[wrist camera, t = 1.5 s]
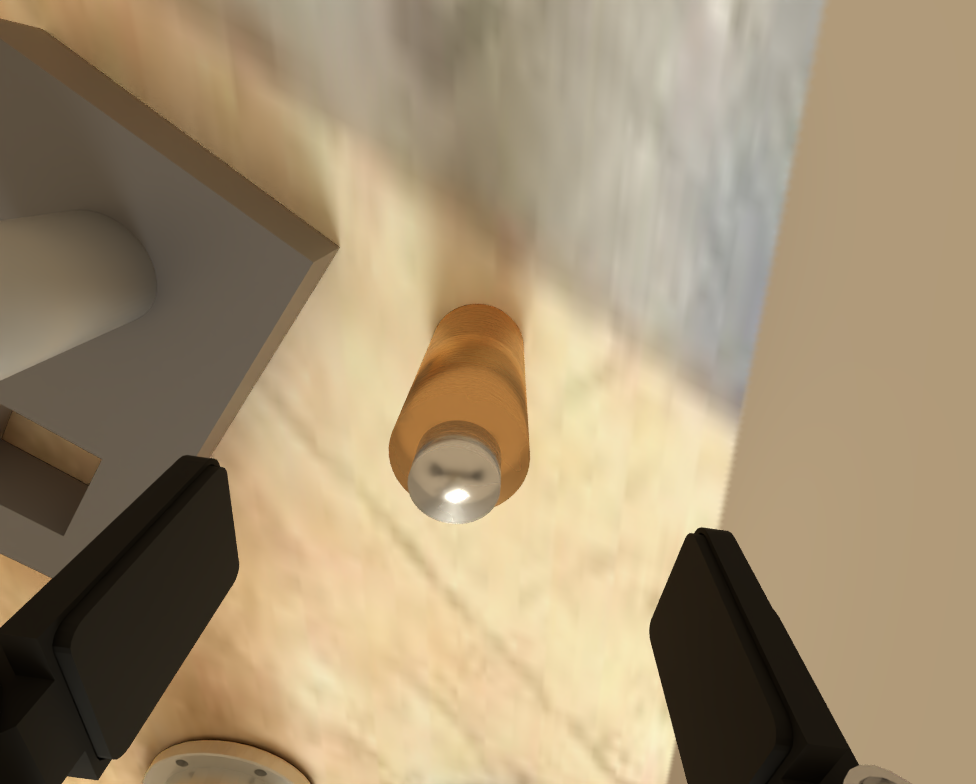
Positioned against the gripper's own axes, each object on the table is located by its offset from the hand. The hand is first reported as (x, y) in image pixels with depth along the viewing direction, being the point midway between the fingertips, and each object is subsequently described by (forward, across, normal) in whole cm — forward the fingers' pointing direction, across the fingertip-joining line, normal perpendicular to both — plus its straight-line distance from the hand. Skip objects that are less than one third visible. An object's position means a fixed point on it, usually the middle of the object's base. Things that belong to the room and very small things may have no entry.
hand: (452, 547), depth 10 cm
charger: (+12, +17, +4) cm, 21 cm away
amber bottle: (+13, 0, +1) cm, 13 cm away
